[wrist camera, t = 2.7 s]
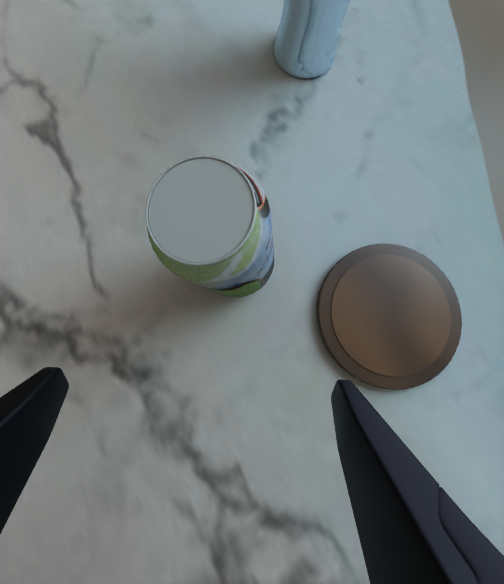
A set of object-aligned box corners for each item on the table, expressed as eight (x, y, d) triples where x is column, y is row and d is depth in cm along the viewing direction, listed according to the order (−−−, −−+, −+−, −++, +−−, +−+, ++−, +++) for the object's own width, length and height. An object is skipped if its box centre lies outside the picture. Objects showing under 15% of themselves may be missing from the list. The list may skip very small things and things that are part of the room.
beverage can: (286, 271, 24) (332, 205, 12) (215, 323, 23) (188, 307, 11) (242, 214, 24) (244, 98, 12) (171, 262, 23) (101, 186, 12)
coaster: (392, 420, 22) (397, 423, 21) (287, 310, 23) (288, 309, 22) (484, 317, 24) (491, 316, 23) (382, 219, 25) (386, 215, 24)
